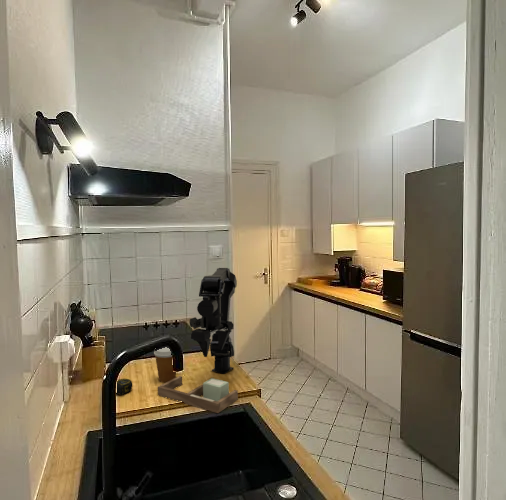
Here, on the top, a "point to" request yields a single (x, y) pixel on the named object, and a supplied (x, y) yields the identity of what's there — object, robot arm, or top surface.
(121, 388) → the tape measure
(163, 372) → the disposable coffee cup
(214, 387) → the frame block
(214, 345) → the robot arm
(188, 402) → the walnut comb rail
